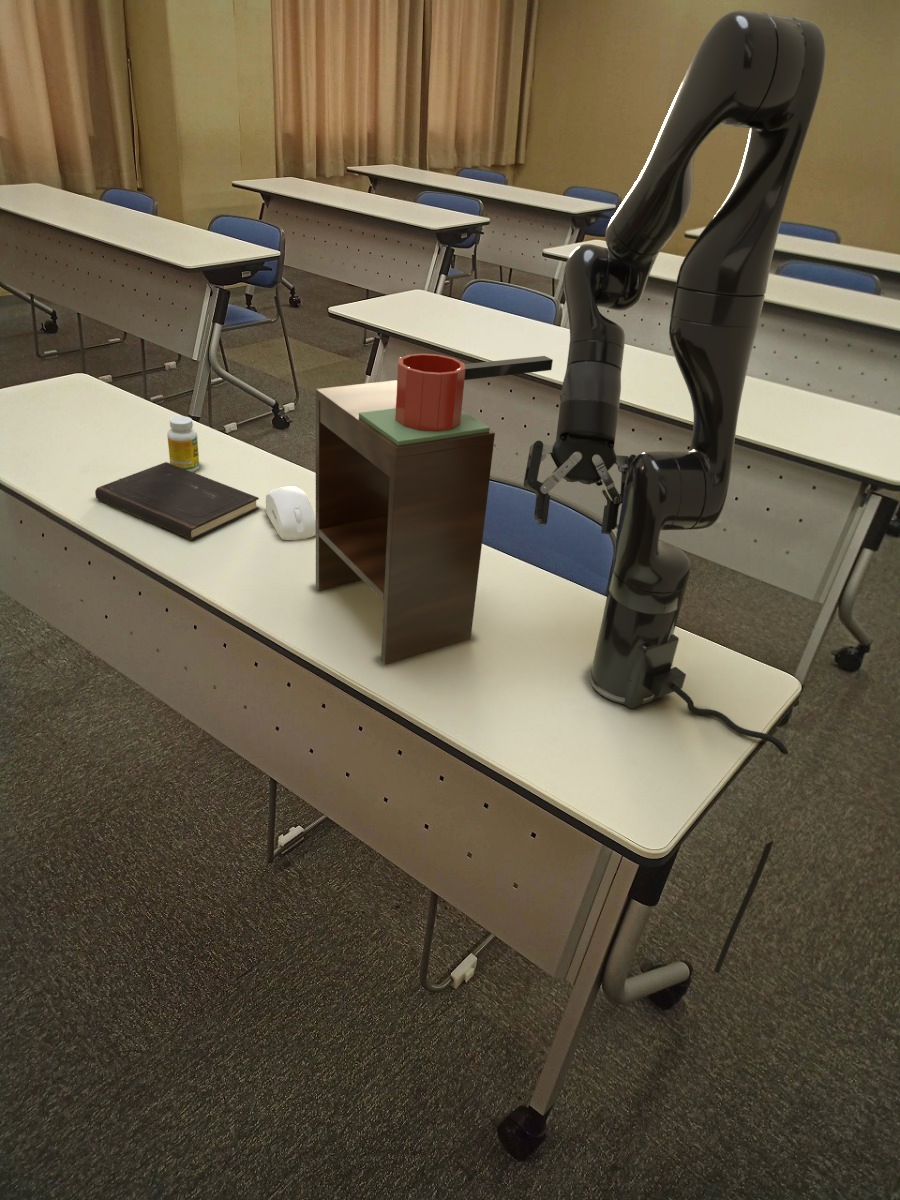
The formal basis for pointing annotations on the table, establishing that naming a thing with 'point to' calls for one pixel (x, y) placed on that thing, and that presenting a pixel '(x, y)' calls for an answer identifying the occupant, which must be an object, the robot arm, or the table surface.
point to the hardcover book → (178, 500)
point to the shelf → (400, 519)
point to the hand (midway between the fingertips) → (574, 529)
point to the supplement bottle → (183, 444)
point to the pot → (446, 386)
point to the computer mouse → (291, 513)
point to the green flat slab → (405, 435)
